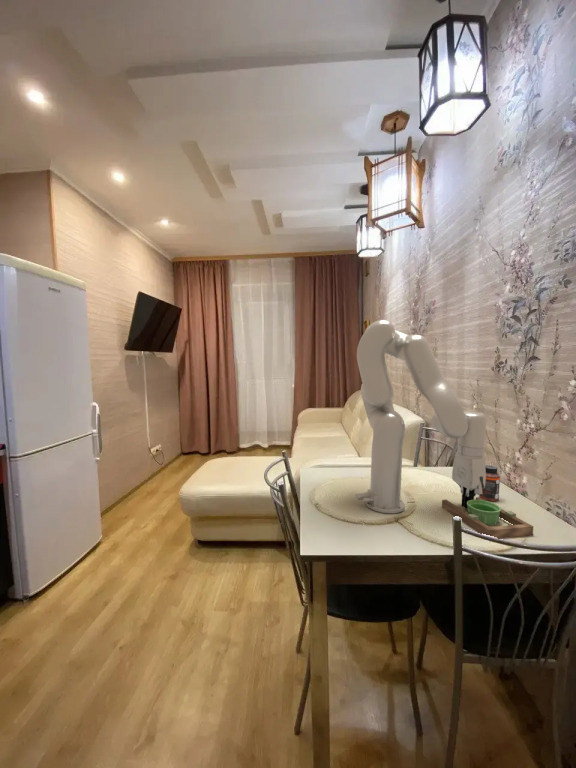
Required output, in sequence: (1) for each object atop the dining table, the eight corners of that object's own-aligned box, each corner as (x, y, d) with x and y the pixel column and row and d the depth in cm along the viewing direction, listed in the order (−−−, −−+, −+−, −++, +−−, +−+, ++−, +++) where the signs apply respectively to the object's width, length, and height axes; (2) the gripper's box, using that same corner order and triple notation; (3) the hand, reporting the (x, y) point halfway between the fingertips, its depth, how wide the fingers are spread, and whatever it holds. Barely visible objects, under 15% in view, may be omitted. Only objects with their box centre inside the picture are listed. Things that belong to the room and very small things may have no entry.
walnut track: (488, 539, 95) (488, 527, 95) (441, 507, 115) (441, 497, 115) (533, 535, 98) (534, 523, 98) (479, 504, 118) (480, 494, 118)
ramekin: (460, 517, 108) (461, 503, 107) (475, 510, 113) (475, 497, 113) (491, 529, 101) (492, 514, 100) (505, 521, 106) (506, 507, 106)
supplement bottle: (502, 502, 120) (504, 469, 119) (484, 501, 120) (486, 469, 119) (492, 495, 126) (494, 464, 125) (475, 495, 126) (477, 463, 125)
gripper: (445, 445, 119) (442, 498, 120) (477, 458, 104) (473, 518, 105) (464, 444, 120) (461, 497, 122) (499, 456, 106) (495, 516, 107)
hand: (467, 506), depth 113 cm, fingers closed
